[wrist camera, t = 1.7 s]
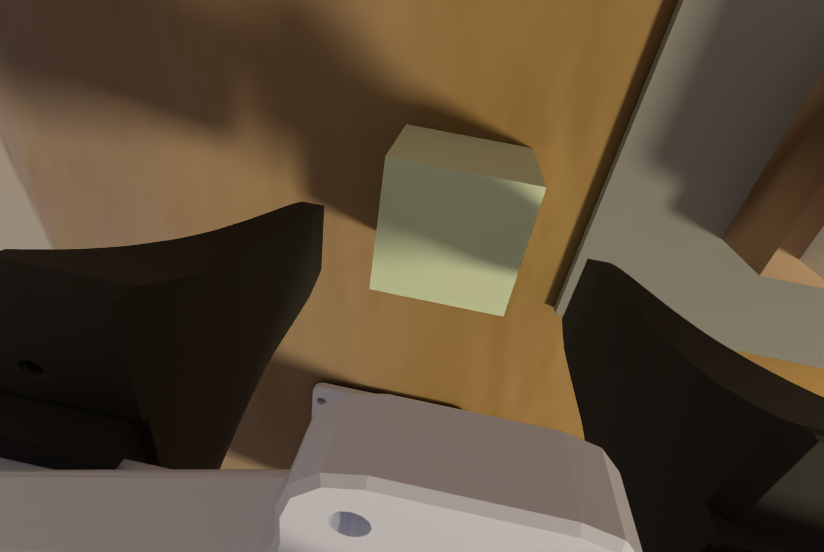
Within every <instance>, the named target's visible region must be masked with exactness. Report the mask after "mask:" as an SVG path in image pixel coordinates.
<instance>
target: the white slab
mask: <svg viewBox="0 0 824 552" xmlns="http://www.w3.org/2000/svg"><path fill="white" fill-rule="evenodd" d="M799 260H800V261H802V262H803V263H804V264H805V265H807V266H808V267H809V268H810V269H812V270H813V271H814V272H815V273H817V274H818V275H819V276H820V277H822V278H823V279H824V226H823V228H822V229H821V230H820V232H819V233H818V234H817V236H816V237H815V239H814V240H813V241H812V243H811V244H810V245H809V247H808V248H807V250H806V251H805V252H804V254H803V255H802V257H801V258H800V259H799Z"/></svg>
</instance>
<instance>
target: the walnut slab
mask: <svg viewBox="0 0 824 552" xmlns="http://www.w3.org/2000/svg"><path fill="white" fill-rule="evenodd" d="M823 226H824V69H823V71H822V73H821V74H820V76H819V78H818V79H817V81H816V83H815V84H814V86H813V88H812V89H811V91H810V93H809V94H808V96H807V98H806V99H805V101H804V103H803V105H802V106H801V108H800V110H799V111H798V113H797V115H796V116H795V118H794V120H793V121H792V123H791V125H790V126H789V128H788V130H787V131H786V133H785V135H784V136H783V138H782V140H781V141H780V143H779V145H778V146H777V148H776V150H775V151H774V153H773V155H772V156H771V158H770V160H769V161H768V163H767V165H766V166H765V168H764V170H763V171H762V173H761V175H760V177H759V178H758V180H757V182H756V183H755V185H754V187H753V188H752V190H751V192H750V193H749V195H748V197H747V198H746V200H745V202H744V203H743V205H742V207H741V208H740V210H739V212H738V213H737V215H736V217H735V218H734V220H733V222H732V223H731V225H730V227H729V228H728V230H727V232H726V233H725V235H724V237H723V238H722V240H723V241H724V242H725V243H726V244H727V245H728V246H729V247H730V248H731V249H732V250H734V251H735V252H736V253H737V254H738V255H739V256H740V257H741V258H742V259H743V260H744V261H745V262H746V263H747V264H748V265H749V266H750V267H751V268H752V269H753V270H754V271H755V272H756V273H757V274H758V275H759V276H763V277H769V278H774V279H779V280H784V281H789V282H794V283H799V284H804V285H809V286H814V287H819V288H824V279H823V278H822V277H820V276H819V275H818V274H817V273H815V272H814V271H813V270H812V269H810V268H809V267H808V266H807V265H805V264H804V263H803V262H802V261H800V260H799V259H800V258H801V257H802V255H803V254H804V252H805V251H806V250H807V248H808V247H809V245H810V244H811V243H812V241H813V240H814V239H815V237H816V236H817V234H818V233H819V232H820V230H821V229H822V228H823Z"/></svg>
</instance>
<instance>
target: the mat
mask: <svg viewBox="0 0 824 552" xmlns="http://www.w3.org/2000/svg"><path fill="white" fill-rule="evenodd" d="M823 69H824V0H678V2H677V5H676V7H675V10H674V12H673V14H672V17H671V19H670V22H669V24H668V27H667V29H666V32H665V34H664V37H663V39H662V42H661V44H660V47H659V49H658V52H657V54H656V57H655V59H654V62H653V64H652V66H651V69H650V71H649V74H648V76H647V79H646V81H645V84H644V86H643V89H642V91H641V94H640V96H639V99H638V101H637V104H636V106H635V109H634V111H633V113H632V116H631V118H630V121H629V123H628V126H627V128H626V131H625V133H624V136H623V138H622V141H621V143H620V146H619V148H618V151H617V153H616V156H615V158H614V160H613V163H612V165H611V168H610V170H609V173H608V175H607V178H606V180H605V183H604V185H603V188H602V190H601V193H600V195H599V198H598V200H597V203H596V205H595V207H594V210H593V212H592V215H591V217H590V220H589V222H588V225H587V227H586V230H585V232H584V235H583V237H582V240H581V242H580V245H579V247H578V250H577V252H576V254H575V257H574V259H573V262H572V264H571V267H570V269H569V272H568V274H567V277H566V279H565V282H564V284H563V287H562V289H561V292H560V294H559V297H558V299H557V301H556V304H555V306H554V311H555V314H559V315H564V313H565V311H566V308H567V306H568V304H569V301H570V299H571V297H572V294H573V292H574V290H575V287H576V285H577V282H578V280H579V278H580V275H581V273H582V271H583V268H584V266H585V264H586V261H587V259H593V260H598V261H603V262H608V263H612V264H613V265H615V266H617V267H618V268H620V269H621V270H623V271H624V272H625V273H627V274H628V275H629V276H631V277H632V278H633V279H635V280H636V281H637V282H638V283H640V284H641V285H642V286H643V287H645V288H646V289H647V290H648V291H650V292H651V293H652V294H653V295H655V296H656V297H657V298H658V299H660V300H661V301H662V302H663V303H665V304H666V305H667V306H669V307H670V308H671V309H672V310H674V311H675V312H676V313H678V314H679V315H680V316H682V317H683V318H685V319H686V320H687V321H689V322H690V323H692V324H693V325H694V326H696V327H697V328H699V329H700V330H701V331H703V332H704V333H706V334H707V335H709V336H710V337H712V338H713V339H715V340H717V341H718V342H720V343H722V344H723V345H725V346H726V347H728V348H730V349H731V350H736V351H741V352H746V353H751V354H756V355H760V356H765V357H770V358H775V359H780V360H785V361H790V362H795V363H800V364H805V365H810V366H814V367H819V368H824V288H819V287H814V286H809V285H804V284H799V283H794V282H789V281H784V280H779V279H774V278H769V277H763V276H759V275H758V274H757V273H756V272H755V271H754V270H753V269H752V268H751V267H750V266H749V265H748V264H747V263H746V262H745V261H744V260H743V259H742V258H741V257H740V256H739V255H738V254H737V253H736V252H735V251H734V250H732V249H731V248H730V247H729V246H728V245H727V244H726V243H725V242H724V241H723V240H722V238H723V237H724V235H725V233H726V232H727V230H728V228H729V227H730V225H731V223H732V222H733V220H734V218H735V217H736V215H737V213H738V212H739V210H740V208H741V207H742V205H743V203H744V202H745V200H746V198H747V197H748V195H749V193H750V192H751V190H752V188H753V187H754V185H755V183H756V182H757V180H758V178H759V177H760V175H761V173H762V171H763V170H764V168H765V166H766V165H767V163H768V161H769V160H770V158H771V156H772V155H773V153H774V151H775V150H776V148H777V146H778V145H779V143H780V141H781V140H782V138H783V136H784V135H785V133H786V131H787V130H788V128H789V126H790V125H791V123H792V121H793V120H794V118H795V116H796V115H797V113H798V111H799V110H800V108H801V106H802V105H803V103H804V101H805V99H806V98H807V96H808V94H809V93H810V91H811V89H812V88H813V86H814V84H815V83H816V81H817V79H818V78H819V76H820V74H821V73H822V71H823Z"/></svg>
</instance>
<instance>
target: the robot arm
mask: <svg viewBox="0 0 824 552" xmlns="http://www.w3.org/2000/svg"><path fill="white" fill-rule="evenodd" d="M323 219H324V206H322V205H317V204H312V203H307V202H298V203H294V204H291V205H288V206H285V207H282V208H280V209H277V210H274V211H271V212H269V213H266V214H263V215H260V216H258V217H255V218H252V219H249V220H246V221H243V222H240V223H237V224H234V225H230V226H227V227H224V228H221V229H218V230H214V231H210V232H206V233H202V234H198V235H193V236H189V237H184V238H179V239H174V240H167V241H160V242H153V243H146V244H139V245H131V246H121V247H109V248H92V249H67V250H20V249H19V250H18V249H4V250H2V251H0V552H824V397H821V396H819V395H817V394H815V393H812V392H810V391H808V390H806V389H804V388H802V387H800V386H798V385H796V384H794V383H792V382H790V381H788V380H786V379H784V378H782V377H780V376H778V375H776V374H774V373H772V372H770V371H768V370H767V369H765V368H763V367H761V366H759V365H757V364H755V363H753V362H752V361H750V360H748V359H746V358H745V357H743V356H741V355H739V354H738V353H736V352H735V351H733V350H731V349H730V348H728V347H726V346H725V345H723V344H722V343H720V342H718V341H717V340H715V339H713V338H712V337H710V336H709V335H707V334H706V333H704V332H703V331H701V330H700V329H699V328H697V327H696V326H694V325H693V324H692V323H690V322H689V321H687V320H686V319H685V318H683V317H682V316H680V315H679V314H678V313H676V312H675V311H674V310H672V309H671V308H670V307H669V306H667V305H666V304H665V303H663V302H662V301H661V300H660V299H658V298H657V297H656V296H655V295H653V294H652V293H651V292H650V291H648V290H647V289H646V288H645V287H643V286H642V285H641V284H640V283H638V282H637V281H636V280H635V279H633V278H632V277H631V276H629V275H628V274H627V273H625V272H624V271H623V270H621V269H620V268H618V267H617V266H615V265H613V264H612V263H608V262H603V261H598V260H593V259H587V261H586V264H585V266H584V268H583V271H582V273H581V275H580V278H579V280H578V282H577V285H576V287H575V290H574V292H573V294H572V297H571V299H570V301H569V304H568V306H567V308H566V311H565V313H564V315H563V318H562V326H563V341H564V350H565V355H566V359H567V363H568V368H569V372H570V376H571V380H572V384H573V388H574V392H575V396H576V400H577V404H578V408H579V412H580V417H581V421H582V426H583V431H584V437H585V441H584V440H582V439H579V438H577V437H575V436H572V435H570V434H568V433H565V432H563V431H559V430H555V429H550V428H545V427H540V426H536V425H531V424H526V423H522V422H517V421H512V420H508V419H503V418H498V417H494V416H489V415H484V414H480V413H475V412H470V411H465V410H461V409H456V408H451V407H447V406H442V405H437V404H433V403H428V402H423V401H419V400H414V399H409V398H404V397H400V396H395V395H390V394H375V393H370V392H365V391H361V390H356V389H351V388H347V387H342V386H337V385H332V384H328V383H318V384H316V385H315V387H314V390H313V397H312V419H311V422H310V424H309V426H308V428H307V430H306V433H305V435H304V438H303V440H302V442H301V445H300V447H299V450H298V452H297V455H296V457H295V459H294V462H293V464H292V467H291V469H220V467H221V464H222V462H223V460H224V457H225V455H226V453H227V450H228V448H229V446H230V443H231V441H232V439H233V436H234V434H235V432H236V429H237V427H238V425H239V423H240V420H241V418H242V416H243V414H244V412H245V409H246V407H247V405H248V403H249V401H250V398H251V396H252V394H253V392H254V390H255V388H256V386H257V384H258V382H259V380H260V378H261V376H262V373H263V371H264V369H265V367H266V365H267V364H268V362H269V360H270V358H271V357H272V355H273V353H274V352H275V350H276V349H277V347H278V345H279V344H280V342H281V341H282V339H283V338H284V336H285V335H286V333H287V331H288V330H289V328H290V327H291V325H292V324H293V322H294V320H295V319H296V317H297V316H298V314H299V313H300V311H301V309H302V308H303V306H304V305H305V303H306V301H307V300H308V298H309V296H310V294H311V292H312V290H313V288H314V285H315V283H316V281H317V278H318V276H319V274H320V271H321V263H322V241H323ZM322 398H323V399H322Z"/></svg>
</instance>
